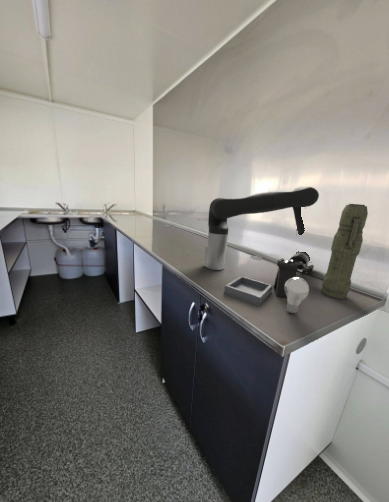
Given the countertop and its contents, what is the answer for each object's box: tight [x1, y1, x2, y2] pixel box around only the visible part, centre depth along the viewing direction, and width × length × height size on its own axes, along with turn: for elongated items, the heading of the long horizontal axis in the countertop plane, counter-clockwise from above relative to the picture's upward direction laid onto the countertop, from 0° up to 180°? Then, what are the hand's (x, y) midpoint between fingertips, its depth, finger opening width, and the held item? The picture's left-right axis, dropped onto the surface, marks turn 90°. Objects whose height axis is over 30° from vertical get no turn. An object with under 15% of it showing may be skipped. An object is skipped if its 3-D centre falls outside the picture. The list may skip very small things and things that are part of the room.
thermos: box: [320, 203, 369, 301], centre depth 81 cm, size 9×12×35 cm
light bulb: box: [284, 276, 310, 315], centre depth 66 cm, size 7×7×12 cm
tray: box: [223, 275, 274, 306], centre depth 80 cm, size 13×14×3 cm
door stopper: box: [272, 262, 298, 299], centre depth 81 cm, size 9×6×12 cm, turn 167°
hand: (291, 269), depth 89 cm, fingers open, 8 cm apart
